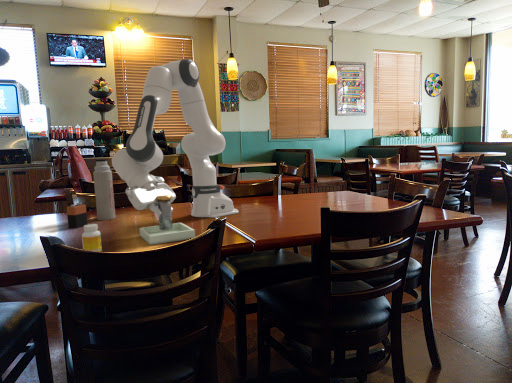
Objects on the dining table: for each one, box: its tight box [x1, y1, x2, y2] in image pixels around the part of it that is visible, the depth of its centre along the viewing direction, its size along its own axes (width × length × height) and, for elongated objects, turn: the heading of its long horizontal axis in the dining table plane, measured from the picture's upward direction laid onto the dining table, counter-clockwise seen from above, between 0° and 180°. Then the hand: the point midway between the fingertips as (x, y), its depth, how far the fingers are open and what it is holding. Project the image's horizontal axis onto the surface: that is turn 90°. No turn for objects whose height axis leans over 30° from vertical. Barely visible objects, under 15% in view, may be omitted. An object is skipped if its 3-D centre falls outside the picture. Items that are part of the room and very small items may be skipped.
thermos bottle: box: [92, 158, 116, 221], centre depth 178 cm, size 8×8×28 cm
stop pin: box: [156, 195, 173, 230], centre depth 138 cm, size 6×6×12 cm
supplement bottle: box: [81, 223, 103, 252], centre depth 118 cm, size 5×5×10 cm
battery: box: [66, 202, 88, 229], centre depth 163 cm, size 4×7×10 cm, turn 160°
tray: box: [139, 222, 196, 246], centre depth 139 cm, size 16×16×3 cm
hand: (166, 212), depth 137 cm, fingers closed on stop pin, 5 cm apart
